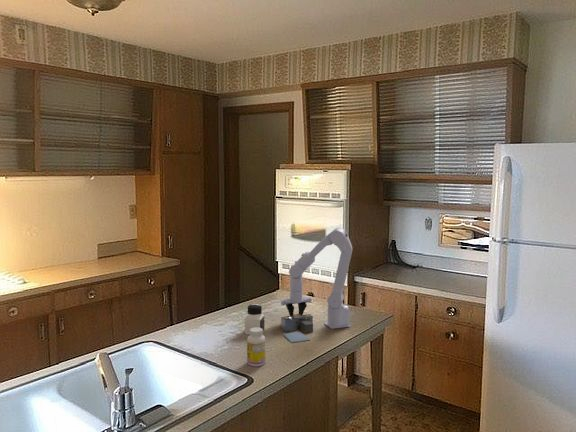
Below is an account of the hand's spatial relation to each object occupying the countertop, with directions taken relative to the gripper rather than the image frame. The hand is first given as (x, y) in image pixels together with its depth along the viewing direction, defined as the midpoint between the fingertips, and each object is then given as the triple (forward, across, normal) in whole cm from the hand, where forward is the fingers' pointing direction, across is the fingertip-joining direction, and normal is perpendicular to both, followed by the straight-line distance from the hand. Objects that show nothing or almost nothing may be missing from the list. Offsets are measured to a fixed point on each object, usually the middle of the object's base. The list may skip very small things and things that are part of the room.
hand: (295, 318), depth 223 cm
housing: (+1, +3, +8) cm, 9 cm away
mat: (+1, +8, +19) cm, 20 cm away
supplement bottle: (+2, +31, +38) cm, 49 cm away
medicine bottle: (+2, +22, +7) cm, 23 cm away
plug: (+1, 0, +7) cm, 7 cm away
